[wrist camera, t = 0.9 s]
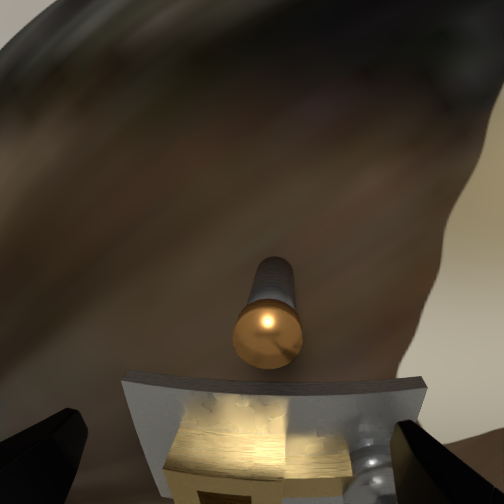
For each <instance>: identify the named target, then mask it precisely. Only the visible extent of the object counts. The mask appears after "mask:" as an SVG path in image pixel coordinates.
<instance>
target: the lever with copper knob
mask: <svg viewBox="0 0 504 504" xmlns="http://www.w3.org/2000/svg"><path fill="white" fill-rule="evenodd" d="M233 345H234V348H235V350H236V352H237V354H238V355H239V356H240V357H241V358H242V359H243V360H244V361H245V362H247V363H248V364H250V365H252V366H254V367H258V368H262V369H275V368H279V367H282V366H285V365H287V364H288V363H290V362H291V361H292V360H294V359H295V357H296V356H297V355H298V353H299V352H300V349H301V346H302V327H301V321H300V318H299V316H298V314H297V312H296V310H295V293H294V278H293V269H292V267H291V265H290V264H289V262H288V261H286V260H285V259H283V258H281V257H275V256H274V257H269V258H266V259H264V260H263V261H262V262H261V263H260V264H259V266H258V268H257V271H256V275H255V278H254V282H253V285H252V289H251V292H250V296H249V299H248V303H247V306H246V307H245V308H244V309H243V310H242V311H241V313H240V314H239V316H238V319H237V322H236V325H235V328H234V332H233Z"/></svg>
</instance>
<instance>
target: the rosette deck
mask: <svg viewBox="0 0 504 504" xmlns="http://www.w3.org/2000/svg"><path fill="white" fill-rule="evenodd" d="M121 382H122V385H123V389H124V392H125V396H126V399H127V403H128V406H129V409H130V413H131V416H132V419H133V422H134V425H135V428H136V431H137V434H138V437H139V440H140V443H141V446H142V448H143V451H144V454H145V457H146V459H147V462H148V465H149V467H150V470H151V472H152V475H153V477H154V480H155V482H156V485H157V487H158V489H159V492H160V494H161V496H162V497H167V498H172V499H174V502H175V504H395V503H396V502H398V501H397V496H396V491H395V484H394V476H393V468H392V461H391V454H390V440H391V436H392V433H393V430H394V427H395V424H396V423H397V422H398V421H403V420H412V421H414V422H415V423H416V420H417V418H418V415H419V412H420V409H421V406H422V403H423V400H424V397H425V394H426V391H427V388H428V387H427V386H426V384H425V382H424V380H423V379H422V377H421V376H418V377H407V378H397V379H385V380H371V381H354V382H326V383H273V382H245V381H227V380H213V379H201V378H190V377H180V376H171V375H162V374H155V373H147V372H140V371H133V370H129V371H128V372H127V373H126V375H125V376H124V377H123V379H122V380H121Z"/></svg>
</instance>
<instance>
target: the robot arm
mask: <svg viewBox="0 0 504 504" xmlns="http://www.w3.org/2000/svg"><path fill="white" fill-rule="evenodd" d="M87 437H88V428H87V426H86V424H85V422H84V420H83V418H82V415H81V413H80V412H79V411H78V410H75V409H71V408H65V409H63V410H61V411H60V412H58V413H56V414H54V415H52V416H50V417H48V418H46V419H44V420H43V421H41V422H39V423H37V424H35V425H33V426H31V427H29V428H27V429H25V430H23V431H21V432H19V433H17V434H15V435H13V436H11V437H9V438H8V439H6V440H4V441H1V442H0V504H64V503H65V501H66V498H67V496H68V493H69V491H70V488H71V486H72V483H73V481H74V478H75V476H76V473H77V470H78V467H79V464H80V460H81V457H82V453H83V450H84V447H85V444H86V440H87ZM390 454H391V461H392V468H393V476H394V484H395V491H396V496H397V501H398V504H504V493H503V492H502V491H500V490H499V489H498V488H497V487H495V488H494V485H492V484H491V483H490V482H489V481H487V480H486V479H485V478H484V477H482V476H481V475H480V474H478V473H477V472H476V471H475V470H473V469H472V468H471V467H470V466H468V465H467V464H466V463H465V462H463V461H462V460H461V459H459V458H458V457H457V456H456V455H454V454H453V453H452V452H451V451H449V450H448V449H447V448H446V447H445V446H443V445H442V444H441V443H440V442H438V441H437V440H436V439H434V438H433V437H432V436H431V435H430V434H428V433H427V432H426V431H425V430H424V429H422V428H421V427H420V426H419V425H417V424H416V423H415V422H414V421H412V420H403V421H398V422H397V423H396V424H395V427H394V430H393V433H392V436H391V440H390Z"/></svg>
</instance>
